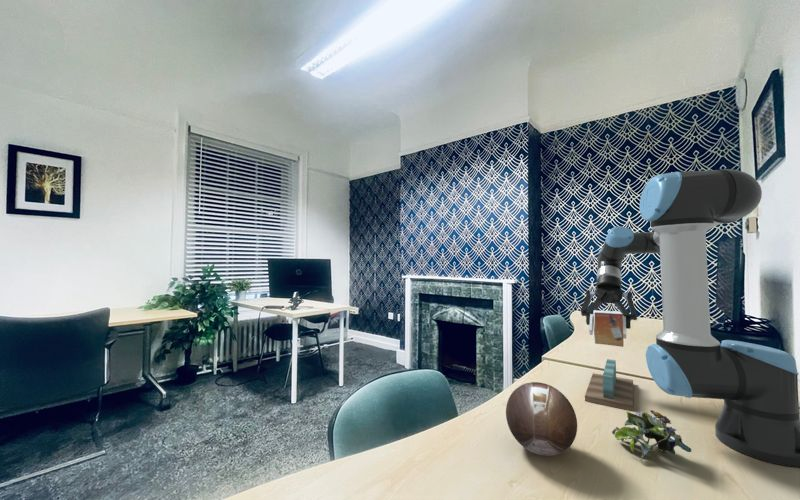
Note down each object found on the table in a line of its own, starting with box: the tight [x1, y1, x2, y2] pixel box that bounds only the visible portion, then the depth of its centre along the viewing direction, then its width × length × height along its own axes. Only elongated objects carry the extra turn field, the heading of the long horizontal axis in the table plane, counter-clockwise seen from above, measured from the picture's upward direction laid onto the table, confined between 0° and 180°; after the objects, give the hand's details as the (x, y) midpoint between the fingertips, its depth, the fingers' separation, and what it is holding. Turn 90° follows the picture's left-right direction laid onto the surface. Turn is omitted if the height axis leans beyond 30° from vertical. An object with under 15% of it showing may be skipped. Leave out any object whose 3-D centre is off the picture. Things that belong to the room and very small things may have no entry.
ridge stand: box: [584, 358, 634, 412], centre depth 106 cm, size 24×12×8 cm, turn 144°
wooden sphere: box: [505, 381, 578, 457], centre depth 74 cm, size 15×15×15 cm
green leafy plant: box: [611, 409, 692, 459], centre depth 72 cm, size 11×11×12 cm
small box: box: [593, 309, 624, 348], centre depth 107 cm, size 8×6×10 cm
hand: (607, 334), depth 104 cm, fingers closed on small box, 8 cm apart
